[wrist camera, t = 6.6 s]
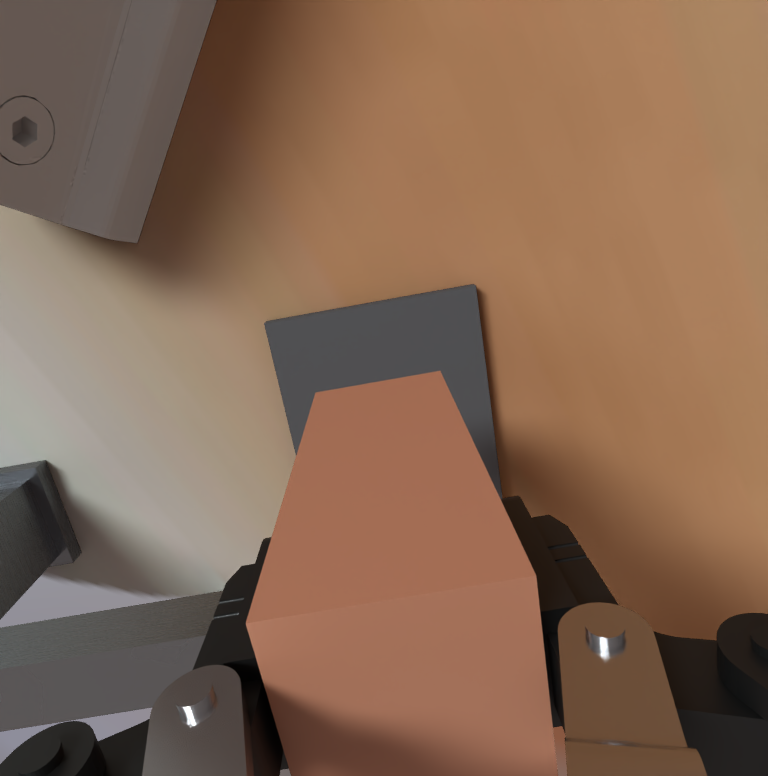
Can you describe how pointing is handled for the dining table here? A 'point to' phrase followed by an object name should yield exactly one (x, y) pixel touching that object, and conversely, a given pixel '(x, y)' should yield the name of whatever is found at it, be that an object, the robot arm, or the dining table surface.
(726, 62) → the dining table surface
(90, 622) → the bracket
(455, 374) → the mat
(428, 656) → the pink block
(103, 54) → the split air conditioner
